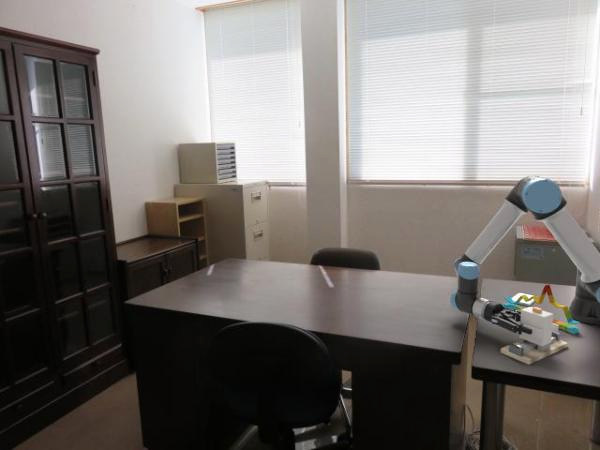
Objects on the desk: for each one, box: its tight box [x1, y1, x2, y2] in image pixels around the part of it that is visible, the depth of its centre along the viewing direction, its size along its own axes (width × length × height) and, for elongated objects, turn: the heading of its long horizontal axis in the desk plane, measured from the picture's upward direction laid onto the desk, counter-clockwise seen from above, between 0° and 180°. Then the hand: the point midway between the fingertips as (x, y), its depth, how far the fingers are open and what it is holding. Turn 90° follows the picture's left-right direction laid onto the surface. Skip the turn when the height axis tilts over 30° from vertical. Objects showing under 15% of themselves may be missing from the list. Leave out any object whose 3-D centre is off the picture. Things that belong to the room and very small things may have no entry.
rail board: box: [500, 339, 569, 365], centre depth 153 cm, size 22×10×2 cm, turn 121°
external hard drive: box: [510, 292, 536, 307], centre depth 198 cm, size 2×8×12 cm
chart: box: [502, 284, 581, 335], centre depth 177 cm, size 30×3×15 cm, turn 26°
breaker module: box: [518, 306, 554, 352], centre depth 151 cm, size 5×8×13 cm, turn 31°
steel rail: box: [508, 332, 561, 357], centre depth 152 cm, size 22×4×2 cm, turn 121°
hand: (550, 332), depth 147 cm, fingers open, 8 cm apart
